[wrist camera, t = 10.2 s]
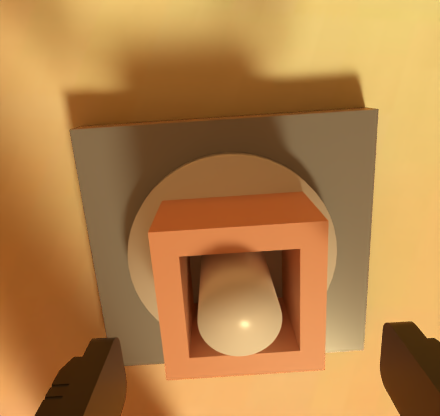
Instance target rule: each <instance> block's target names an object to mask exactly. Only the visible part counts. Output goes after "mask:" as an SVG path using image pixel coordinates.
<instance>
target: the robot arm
mask: <svg viewBox="0 0 440 416" xmlns="http://www.w3.org/2000/svg"><path fill="white" fill-rule="evenodd" d="M380 373H381V378H382V381H383V384H384V387H385V389H386V391H387V392H388V394H389V396H390V398H391V400H392V401H393V403H394V405H395V407H396V409H397V410H398V412H399V414H400V416H440V342H439V341H438V340H436V339H435V338H426V337H425V335H424V334H423V333H422V332H421V331H420V329H419V328H418V327H417V326H416V325H415V324H414V323H413V322H393V323H385V324H384V326H383V333H382V346H381V358H380ZM126 388H127V382H126V374H125V368H124V362H123V356H122V350H121V344H120V340H119V338H118V337H114V338H96V339H92V340H91V341H90V343H89V345H88V347H87V349H86V351H85V353H84V355H83V357H74V358H72V359H71V360H70V361H69V362H68V363H67V364H66V365H65V366H64V367H63V368H62V369H61V370H60V371H59V373H58V374H57V376H56V378H55V380H54V382H53V383H52V387H51V388H50V389H49V391H48V392H47V394H46V396H45V400H43V401H42V403H41V405H40V407H39V409H38V410H37V412H36V414H35V416H121V412H122V409H123V405H124V402H125V398H126Z"/></svg>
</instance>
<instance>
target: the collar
mask: <svg viewBox="0 0 440 416" xmlns="http://www.w3.org/2000/svg"><path fill="white" fill-rule="evenodd" d="M328 227H329V221H328V220H327V218H326V217H325V216H324V215H323V214H322V213H321V212H320V210H319V209H318V208H317V207H316V206H315V205H314V204H313V202H312V201H311V200H310V199H309V198H308V197H307V196H306V194H305V193H304V192H303V191H302V192H287V193H272V194H256V195H241V196H226V197H210V198H195V199H180V200H164V201H162V202H161V204H160V206H159V209H158V211H157V213H156V215H155V218H154V220H153V222H152V224H151V227H150V229H149V231H148V238H149V246H150V254H151V261H152V269H153V277H154V285H155V293H156V300H157V308H158V316H159V324H160V332H161V339H162V347H163V355H164V363H165V371H166V378H167V380H179V379H194V378H209V377H225V376H240V375H255V374H271V373H286V372H301V371H317V370H325V343H326V304H327V266H328ZM273 250H282V298H278V301H279V305H280V308H281V312H282V325H281V329H280V332H279V334H278V336H277V337H276V339H275V340H274V341H273V342H272V343H271V344H270V345H269V346H268V347H267V348H265V349H263V350H262V351H260V352H258V353H255V354H252V355H248V356H230V355H225V354H223V353H220V352H218V351H216V350H214V349H213V348H211V347H210V346H209V345H208V344H207V343H206V342H205V341H204V339H203V338H202V336H201V334H200V332H199V329H198V303H194V299H193V288H192V278H191V267H190V257H189V256H196V255H212V254H227V253H242V252H258V251H273Z"/></svg>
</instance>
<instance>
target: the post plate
mask: <svg viewBox="0 0 440 416" xmlns="http://www.w3.org/2000/svg"><path fill="white" fill-rule="evenodd" d="M377 124H378V109H373V108H351V109H336V110H321V111H306V112H291V113H276V114H261V115H246V116H231V117H216V118H201V119H186V120H171V121H156V122H141V123H126V124H111V125H96V126H81V127H77V128H74V129H70V136H71V141H72V147H73V152H74V158H75V163H76V169H77V174H78V180H79V185H80V191H81V196H82V202H83V208H84V213H85V219H86V224H87V230H88V235H89V241H90V246H91V252H92V257H93V263H94V269H95V274H96V280H97V285H98V291H99V296H100V302H101V307H102V313H103V318H104V324H105V329H106V335H107V338H114V337H118V338H119V340H120V344H121V350H122V356H123V362H124V366H133V365H149V364H164V355H163V347H162V339H161V332H160V324H159V316H158V308H157V300H156V293H155V285H154V277H153V269H152V261H151V254H150V246H149V238H148V231H149V229H150V227H151V224H152V222H153V220H154V218H155V215H156V213H157V211H158V209H159V206H160V204H161V202H162V201H164V200H180V199H195V198H210V197H226V196H241V195H256V194H272V193H287V192H302V191H303V192H304V193H305V194H306V196H307V197H308V198H309V199H310V200H311V201H312V202H313V204H314V205H315V206H316V207H317V208H318V209H319V210H320V212H321V213H322V214H323V215H324V216H325V217H326V218H327V220H328V221H329V227H328V266H327V304H326V343H325V353H330V352H345V351H360V350H364V338H365V322H366V305H367V289H368V272H369V256H370V239H371V223H372V206H373V190H374V173H375V157H376V140H377ZM189 257H190V267H191V278H192V288H193V299H194V303H198V329H199V332H200V334H201V336H202V338H203V339H204V341H205V342H206V343H207V344H208V345H209V346H210V347H211V348H213V349H214V350H216V351H218V352H220V353H223V354H225V355H230V356H248V355H252V354H255V353H258V352H260V351H262V350H263V349H265V348H267V347H268V346H269V345H270V344H271V343H272V342H273V341H274V340H275V339H276V337H277V336H278V334H279V332H280V329H281V325H282V312H281V308H280V305H279V301H278V298H282V250H273V251H258V252H242V253H227V254H212V255H196V256H189Z"/></svg>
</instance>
